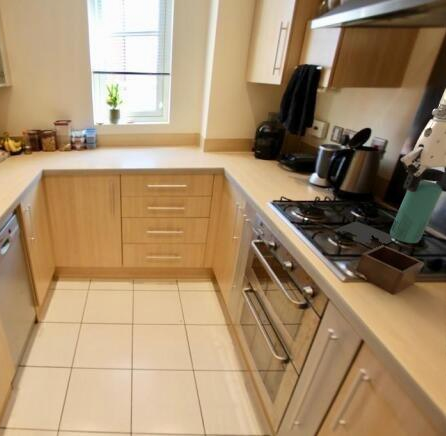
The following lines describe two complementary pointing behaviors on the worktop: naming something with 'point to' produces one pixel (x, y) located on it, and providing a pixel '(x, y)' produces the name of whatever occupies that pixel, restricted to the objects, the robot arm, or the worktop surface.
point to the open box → (389, 268)
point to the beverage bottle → (417, 208)
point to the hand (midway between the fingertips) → (425, 189)
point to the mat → (365, 232)
